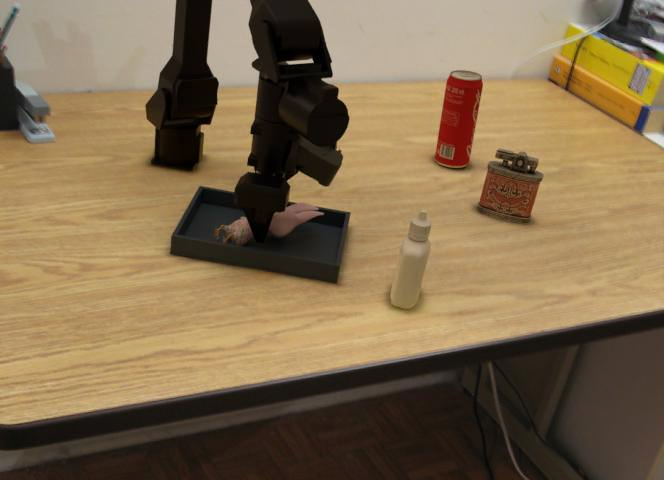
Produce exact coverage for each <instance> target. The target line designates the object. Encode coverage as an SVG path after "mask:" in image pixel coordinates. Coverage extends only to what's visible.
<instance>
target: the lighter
mask: <svg viewBox="0 0 664 480" xmlns="http://www.w3.org/2000/svg"><path fill="white" fill-rule="evenodd" d="M494 158H496V159H498V160H501V161H498V160H490V161H488V163H487V166H486V169H487V171H486V174H485V178H484V183H483V186H482V189H481V194H480V197H479V201H477V203H476V211H477V212H478V213H480V214H483V215H487V216H488V217H492V218H496V219H499V220H504V221H507V222H511V223H518V224H525V225H526V224H529V223H530V222H531V219H532V211H533V209H534V205H535V201H536V199H537V195H538V192H539V188H540V184H541V182H542V181H543V179H544V174H543V172H541V171H539V170H536V169H538V168H537V167H538V165H539V162H540V158H538V157H533V156H529V155H528V154H527V153H526V151H519V152H518V153H516V152H514V151H512V150H510V149H509V150H508V149H505V148H499V147H498V149H496V152H495V155H494ZM510 162H511V163H510Z"/></svg>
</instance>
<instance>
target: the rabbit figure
mask: <svg viewBox="0 0 664 480" xmlns="http://www.w3.org/2000/svg"><path fill="white" fill-rule="evenodd" d="M295 203H296V204H292V205H290V206H288V207H286V209H285V212H280V213H278V212H276V213H274V215H273V218H272V221H271V224H270V227H269V230H268V233H267V234H268V235H271V236H272V237H273V238H276V237H277V238H281V237H284V236H285V235H287V234H289V233H290V232H291V231H292V230H293V229H294V228H295V227H296V226H297V225H300V224H302V223H304V222H306V221H308V220H310V219H312V218H314V217H316V216H319V215H324V213H321V212H317V211H315V210H319V209H318V208H317V207H318V206H317V207H315V206H316V205H313V204H310V203H309V202H308V203H307V202H295ZM240 219H241V220H236V221H235V222H233V223H232V224H231V225H228V226H225V225H222V226H221V227H220V228H219V229H218V230H217V228H215V229H216V231H215V236H216V237H217V238H219V236H218V234H219V231H220V230H224V231H225V233H226V236H227V238H226V239H225V237H223V238H224V239H223V243H227V240H228V239H232V242H233V244H234V245H238V246H242V245H244V244H245V243H246V242H247V241H248V240H250V238H252V237H254V236H253V233H252V231H251V228H250V226H249V223H248V221H247V218H246V217H241V218H240ZM217 238H216V239H217Z"/></svg>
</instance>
